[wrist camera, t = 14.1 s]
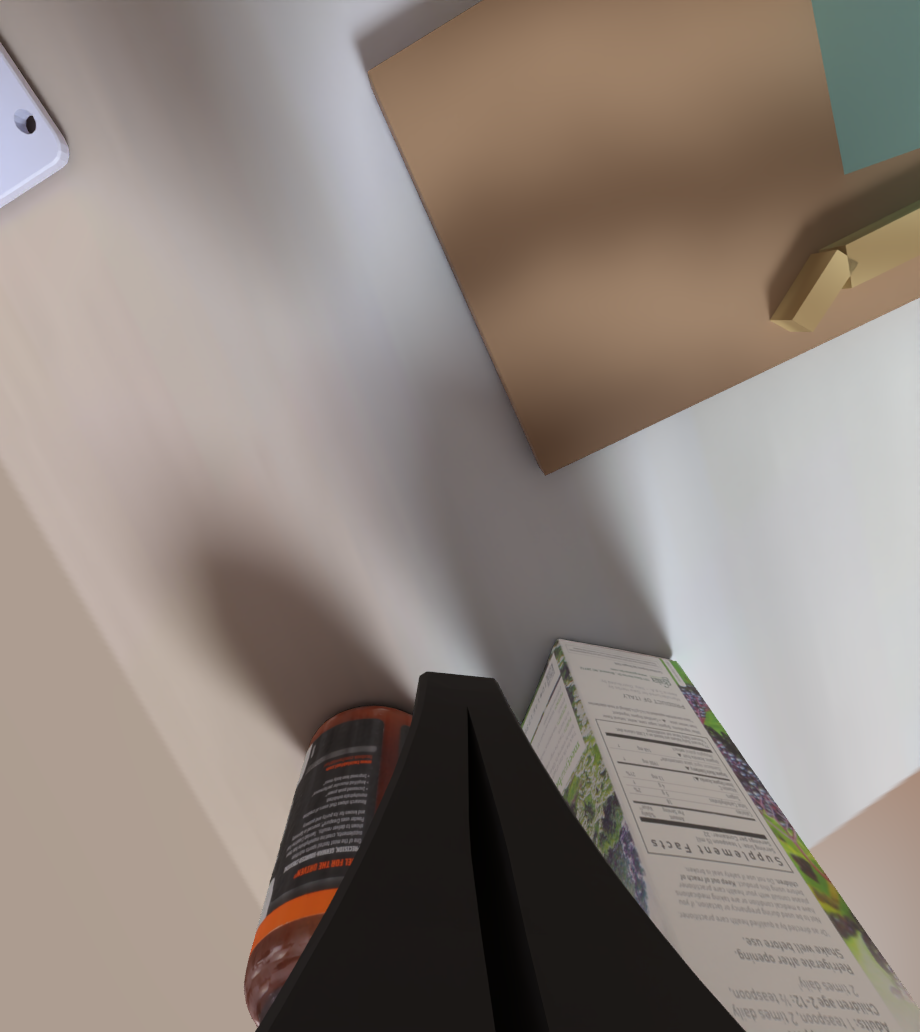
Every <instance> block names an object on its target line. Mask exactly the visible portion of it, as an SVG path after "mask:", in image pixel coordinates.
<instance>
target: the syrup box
mask: <svg viewBox="0 0 920 1032" xmlns="http://www.w3.org/2000/svg"><path fill="white" fill-rule="evenodd" d="M521 728H522V729H523V731H524V733H525V735H526V737H527V738H528V740H529V742H530V744H531V745H532V747H533V749H534V750H535V752H536V754H537V756H538V757H539V759H540V761H541V762H542V764H543V765H544V767H545V769H546V770H547V772H548V774H549V775H550V777H551V778H552V780H553V782H554V783H555V785H556V787H557V788H558V790H559V791H560V793H561V795H562V796H563V798H564V799H565V801H566V802H567V804H568V805H569V807H570V808H571V810H572V812H573V813H574V815H575V816H576V818H577V819H578V821H579V822H580V823H581V825H582V826H583V828H584V829H585V831H586V832H587V834H588V835H589V837H590V838H591V839H592V841H593V842H594V844H595V845H596V847H597V848H598V850H599V851H600V852H601V854H602V855H603V857H604V858H605V859H606V861H607V862H608V864H609V865H610V866H611V868H612V869H613V871H614V872H615V873H616V875H617V876H618V877H619V879H620V880H621V881H622V883H623V884H624V885H625V887H626V888H627V889H628V891H629V892H630V893H631V895H632V896H633V897H634V898H635V900H636V901H637V902H638V904H639V905H640V906H641V907H642V909H643V910H644V911H645V913H646V914H647V915H648V917H649V918H650V919H651V920H652V922H653V923H654V924H655V926H656V927H657V928H658V929H659V930H660V932H661V933H662V934H663V935H664V937H665V938H666V939H667V940H668V941H669V943H670V944H671V945H672V946H673V948H674V949H675V950H676V951H677V952H678V954H679V955H680V956H681V957H682V959H683V960H684V961H685V962H686V964H687V965H688V966H689V967H690V968H691V970H692V971H693V972H694V973H695V974H696V976H697V977H698V978H699V979H700V980H701V981H702V983H703V984H704V985H705V986H706V987H707V988H708V989H709V990H710V992H711V993H712V994H713V995H714V996H715V997H716V998H717V999H718V1001H719V1002H720V1003H721V1004H722V1005H723V1006H724V1007H725V1008H726V1010H727V1011H728V1012H729V1013H730V1014H731V1015H732V1016H733V1018H734V1019H735V1020H736V1021H737V1022H738V1023H739V1024H740V1025H741V1027H742V1028H743V1029H744V1030H745V1031H746V1032H920V1008H919V1007H918V1006H917V1004H916V1003H915V1001H914V1000H913V998H912V997H911V996H910V994H909V993H908V991H907V990H906V988H905V987H904V986H903V984H902V983H901V981H900V980H899V979H898V977H897V976H896V974H895V973H894V972H893V970H892V969H891V967H890V966H889V965H888V963H887V962H886V960H885V959H884V957H883V956H882V955H881V953H880V952H879V950H878V949H877V947H876V946H875V945H874V943H873V942H872V941H871V939H870V938H869V936H868V935H867V933H866V932H865V930H864V929H863V928H862V926H861V925H860V923H859V922H858V920H857V919H856V917H855V916H854V915H853V913H852V912H851V910H850V909H849V907H848V906H847V905H846V903H845V902H844V900H843V899H842V897H841V896H840V894H839V893H838V892H837V890H836V888H835V887H834V886H833V884H832V883H831V881H830V880H829V878H828V877H827V876H826V874H825V873H824V871H823V870H822V869H821V867H820V866H819V864H818V863H817V861H816V860H815V859H814V857H813V856H812V854H811V853H810V851H809V850H808V849H807V847H806V846H805V844H804V843H803V841H802V840H801V839H800V837H799V836H798V834H797V833H796V831H795V830H794V828H793V827H792V826H791V824H790V823H789V821H788V820H787V818H786V817H785V815H784V814H783V813H782V811H781V810H780V808H779V807H778V806H777V804H776V803H775V802H774V800H773V799H772V797H771V796H770V795H769V793H768V792H767V790H766V789H765V787H764V786H763V784H762V783H761V781H760V780H759V778H758V777H757V776H756V774H755V773H754V772H753V770H752V769H751V767H750V766H749V765H748V763H747V762H746V761H745V759H744V758H743V756H742V755H741V753H740V752H739V750H738V749H737V747H736V746H735V744H734V743H733V742H732V740H731V739H730V737H729V736H728V734H727V733H726V731H725V730H724V728H723V727H722V725H721V724H720V723H719V721H718V720H717V719H716V717H715V716H714V714H713V713H712V711H711V710H710V708H709V707H708V705H707V704H706V702H705V701H704V700H703V698H702V697H701V695H700V694H699V692H698V691H697V690H696V688H695V687H694V685H693V684H692V683H691V681H690V680H689V678H688V677H687V675H686V674H685V672H684V671H683V669H682V668H681V666H680V665H679V664H678V663H677V662H676V661H672V660H670V659H665V658H660V657H655V656H650V655H645V654H640V653H634V652H629V651H625V650H619V649H613V648H608V647H603V646H597V645H591V644H586V643H580V642H574V641H569V640H564V639H557V640H556V642H555V644H554V646H553V649H552V651H551V654H550V656H549V659H548V662H547V664H546V667H545V669H544V672H543V674H542V677H541V679H540V681H539V684H538V686H537V689H536V691H535V694H534V696H533V699H532V701H531V704H530V706H529V708H528V711H527V713H526V716H525V718H524V720H523V722H522V725H521Z"/></svg>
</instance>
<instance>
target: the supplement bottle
mask: <svg viewBox="0 0 920 1032" xmlns="http://www.w3.org/2000/svg"><path fill="white" fill-rule="evenodd" d="M412 716H413V715H411V714H408V713H406V712H404V711H400V710H398V709H395V708H390V707H385V706H363V707H358V708H353V709H350V710H346V711H344V712H341V713H339V714H337V715H335V716H334V717H332V718H330V719H329V720H327V721H326V722H325V723H324V724H323V725H322V726H321V727H320V728H319V729H318V730H317V732H316V733H315V735H314V736H313V738H312V740H311V742H310V745H309V748H308V751H307V753H306V756H305V759H304V763H303V766H302V770H301V774H300V777H299V781H298V784H297V788H296V791H295V795H294V798H293V802H292V805H291V809H290V813H289V816H288V820H287V824H286V827H285V831H284V834H283V838H282V841H281V844H280V849H279V852H278V856H277V860H276V863H275V867H274V870H273V873H272V877H271V880H270V884H269V888H268V891H267V895H266V899H265V902H264V906H263V909H262V913H261V917H260V920H259V924H258V927H257V931H256V935H255V939H254V942H253V945H252V949H251V953H250V956H249V960H248V965H247V969H246V975H245V982H244V992H245V998H246V1004H247V1007H248V1010H249V1012H250V1015H251V1017H252V1019H253V1020H254V1022H255V1024H256V1026H257V1027H258V1026H259V1025H260V1023H261V1022H262V1020H263V1018H264V1017H265V1015H266V1013H267V1012H268V1010H269V1008H270V1007H271V1005H272V1004H273V1002H274V1000H275V999H276V997H277V995H278V993H279V992H280V990H281V988H282V987H283V985H284V983H285V982H286V980H287V978H288V977H289V975H290V973H291V972H292V970H293V968H294V966H295V965H296V963H297V961H298V959H299V958H300V956H301V954H302V952H303V950H304V949H305V947H306V945H307V943H308V942H309V940H310V938H311V936H312V935H313V933H314V931H315V929H316V928H317V926H318V924H319V922H320V921H321V919H322V917H323V915H324V913H325V912H326V910H327V908H328V906H329V904H330V903H331V901H332V899H333V897H334V895H335V893H336V891H337V889H338V888H339V886H340V884H341V882H342V880H343V878H344V876H345V874H346V872H347V871H348V869H349V867H350V865H351V863H352V861H353V859H354V857H355V855H356V853H357V851H358V849H359V847H360V845H361V843H362V841H363V839H364V837H365V835H366V833H367V830H368V828H369V826H370V824H371V822H372V820H373V817H374V815H375V813H376V811H377V808H378V806H379V804H380V802H381V800H382V797H383V795H384V793H385V791H386V788H387V786H388V784H389V782H390V779H391V777H392V775H393V772H394V770H395V767H396V764H397V762H398V759H399V756H400V753H401V751H402V748H403V745H404V743H405V740H406V737H407V735H408V732H409V728H410V725H411V722H412Z"/></svg>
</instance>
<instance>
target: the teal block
mask: <svg viewBox="0 0 920 1032" xmlns="http://www.w3.org/2000/svg"><path fill="white" fill-rule="evenodd" d="M811 2H812V7H813V12H814V18H815V23H816V28H817V33H818V39H819V44H820V49H821V54H822V60H823V65H824V70H825V75H826V80H827V86H828V91H829V96H830V101H831V107H832V112H833V117H834V122H835V128H836V133H837V138H838V143H839V148H840V154H841V159H842V164H843V169H844V175H845V174H848V173H851V172H854V171H856V170H859V169H862V168H865V167H868V166H870V165H873V164H876V163H879V162H882V161H885V160H887V159H890V158H893V157H896V156H899V155H901V154H904V153H907V152H910V151H913V150H915V149H918V148H920V0H811Z"/></svg>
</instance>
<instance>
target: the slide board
mask: <svg viewBox="0 0 920 1032" xmlns="http://www.w3.org/2000/svg"><path fill="white" fill-rule="evenodd" d="M367 72H368V76H369V79H370V83H371V87H372V90H373V93H374V95H375V97H376V99H377V102H378V104H379V106H380V108H381V111H382V113H383V115H384V117H385V120H386V122H387V124H388V127H389V129H390V131H391V133H392V136H393V138H394V140H395V142H396V145H397V147H398V149H399V151H400V154H401V156H402V158H403V160H404V163H405V165H406V167H407V169H408V172H409V174H410V176H411V179H412V181H413V183H414V185H415V188H416V190H417V192H418V194H419V197H420V199H421V201H422V203H423V206H424V208H425V210H426V212H427V215H428V217H429V219H430V221H431V224H432V226H433V228H434V230H435V233H436V235H437V237H438V240H439V242H440V244H441V246H442V249H443V251H444V253H445V255H446V258H447V260H448V262H449V264H450V267H451V269H452V271H453V273H454V276H455V278H456V280H457V282H458V285H459V287H460V289H461V292H462V294H463V296H464V298H465V301H466V303H467V305H468V307H469V310H470V312H471V314H472V316H473V319H474V321H475V323H476V325H477V328H478V330H479V332H480V334H481V337H482V339H483V341H484V343H485V346H486V348H487V350H488V353H489V355H490V357H491V359H492V362H493V364H494V366H495V368H496V371H497V373H498V375H499V377H500V380H501V382H502V384H503V386H504V389H505V391H506V393H507V395H508V398H509V400H510V402H511V405H512V407H513V409H514V411H515V414H516V416H517V418H518V420H519V423H520V425H521V427H522V429H523V432H524V434H525V436H526V438H527V441H528V443H529V445H530V447H531V450H532V452H533V454H534V456H535V459H536V461H537V463H538V466H539V468H540V469H541V470H542V472H543V473H544V474H545V476H546V475H548V474H550V473H552V472H554V471H556V470H558V469H560V468H562V467H565V466H567V465H569V464H571V463H573V462H575V461H577V460H579V459H581V458H583V457H586V456H588V455H590V454H592V453H594V452H596V451H598V450H600V449H602V448H604V447H607V446H609V445H611V444H613V443H615V442H617V441H619V440H621V439H623V438H625V437H628V436H630V435H632V434H634V433H636V432H638V431H640V430H642V429H644V428H647V427H649V426H651V425H653V424H655V423H657V422H659V421H661V420H663V419H665V418H668V417H670V416H672V415H674V414H676V413H678V412H680V411H682V410H684V409H686V408H689V407H691V406H693V405H695V404H697V403H699V402H701V401H703V400H705V399H707V398H710V397H712V396H714V395H716V394H718V393H720V392H722V391H724V390H726V389H728V388H731V387H733V386H735V385H737V384H739V383H741V382H743V381H745V380H747V379H749V378H752V377H754V376H756V375H758V374H760V373H762V372H764V371H766V370H768V369H770V368H773V367H775V366H777V365H779V364H781V363H783V362H785V361H787V360H789V359H791V358H794V357H796V356H798V355H800V354H802V353H804V352H806V351H808V350H810V349H812V348H815V347H817V346H819V345H821V344H823V343H825V342H827V341H829V340H831V339H833V338H836V337H838V336H840V335H842V334H844V333H846V332H848V331H850V330H852V329H855V328H857V327H859V326H861V325H863V324H865V323H867V322H869V321H871V320H873V319H876V318H878V317H880V316H882V315H884V314H886V313H888V312H890V311H892V310H894V309H897V308H899V307H901V306H903V305H905V304H907V303H909V302H911V301H913V300H915V299H918V298H920V148H918V149H915V150H913V151H910V152H907V153H904V154H901V155H899V156H896V157H893V158H890V159H887V160H885V161H882V162H879V163H876V164H873V165H870V166H868V167H865V168H862V169H859V170H856V171H854V172H851V173H848V174H845V175H844V169H843V164H842V159H841V154H840V148H839V143H838V138H837V133H836V128H835V122H834V117H833V112H832V107H831V101H830V96H829V91H828V86H827V80H826V75H825V70H824V65H823V60H822V54H821V49H820V44H819V39H818V33H817V28H816V23H815V18H814V12H813V7H812V2H811V0H482V1H481V2H479V3H478V4H476V5H474V6H473V7H471V8H469V9H468V10H466V11H465V12H463V13H461V14H460V15H458V16H457V17H455V18H453V19H452V20H450V21H448V22H447V23H445V24H444V25H442V26H440V27H439V28H437V29H435V30H434V31H432V32H431V33H429V34H427V35H426V36H424V37H423V38H421V39H419V40H418V41H416V42H414V43H413V44H411V45H410V46H408V47H406V48H405V49H403V50H401V51H400V52H398V53H397V54H395V55H393V56H392V57H390V58H389V59H387V60H385V61H384V62H382V63H380V64H379V65H377V66H376V67H374V68H372V69H371V70H369V71H367Z"/></svg>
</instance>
